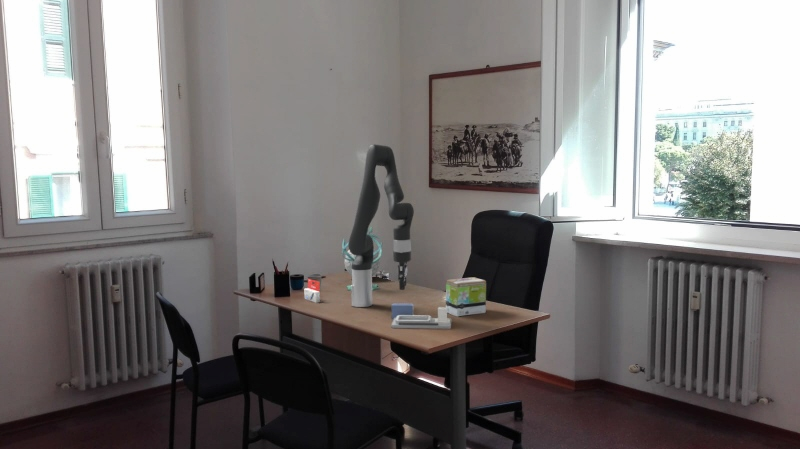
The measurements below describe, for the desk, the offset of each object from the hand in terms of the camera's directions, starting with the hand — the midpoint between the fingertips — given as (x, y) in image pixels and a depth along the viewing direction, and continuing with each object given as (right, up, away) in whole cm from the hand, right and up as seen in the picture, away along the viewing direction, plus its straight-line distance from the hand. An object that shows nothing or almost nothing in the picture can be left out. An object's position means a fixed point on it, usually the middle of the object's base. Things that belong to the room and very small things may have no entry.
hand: (403, 287), depth 280 cm
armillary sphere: (-21, -7, +65) cm, 69 cm away
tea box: (+28, -12, +9) cm, 32 cm away
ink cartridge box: (-44, -10, +37) cm, 58 cm away
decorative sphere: (-22, -4, +89) cm, 92 cm away
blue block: (0, -13, +1) cm, 13 cm away
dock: (+8, -14, -10) cm, 19 cm away
